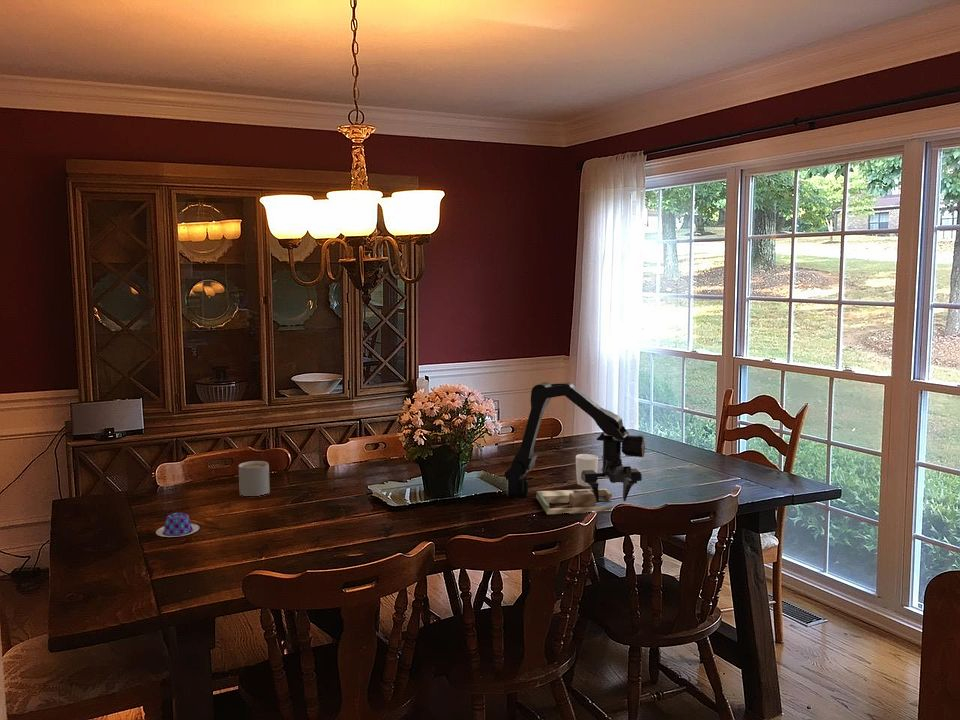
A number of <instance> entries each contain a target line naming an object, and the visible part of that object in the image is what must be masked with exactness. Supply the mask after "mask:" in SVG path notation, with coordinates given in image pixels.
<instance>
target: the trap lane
mask: <svg viewBox="0 0 960 720" xmlns="http://www.w3.org/2000/svg"><path fill="white" fill-rule="evenodd" d="M582 492H590V493H592V494H593V495H594V493H593V490H592V488H590V489H588V488H587V489H567V490H566V489H564V490H563V489H562V490H560V489H559V490H537V491H536V500H537V502H538V503H539V505H540V506H541V507H542V509H543V511H544V512H545V513H546V515H561V514H562V513H563V514H564V513H569V514H585V513H586V512H587V513H586V514H589V513H588V512H591V511H597V512H596V513H599V512H598V511H605V510H611V509H612V508H613V507H614V506H615V505H610V506H608V505H607V506H606V505H605V506H595V507H578V508H571V507H559V508H558V507H557V508H550V503H551V504H569V503H568V502H569V494H570V493H582ZM612 494H613V493H611V491H610V490H609V489H608V488H598V495H599V501H600V502H608V501H607V500H613V498H612V497H613V495H612ZM595 501H596V499H595ZM563 514H562V515H563ZM564 515H565V514H564Z"/></svg>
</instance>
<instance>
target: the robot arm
mask: <svg viewBox="0 0 960 720" xmlns="http://www.w3.org/2000/svg"><path fill="white" fill-rule="evenodd" d="M563 396H564V397H566V398H567V399H568V400H570V401H571V402H572V403H573V404H575V405H576V406H577V407H578V408H579V409H581V410H582V411H584V413H586V414H587V415H589V416H590V418H592V419H593V420H594V422H595V423H596V425H597V426H598V428H599V429H600V430H601V431H602V432H601V433H600V435H599V436H597V438H596V441H600V442H601V441H602V455H601V460H602V467H601V472H597V473H596V472H595V471H594V470H583V471H582V473H581V479H582V480H583V481H584V482H585V483H588V484H589V485H590V486H589V487H590V489H592V490H593V493H594V496H595V499H596V501H597V502H596V503H599V495H598V489H599V482H597V481H599V480H604V479H605V480H606V479H607V480H609V482H610V483H612V484H615V483H621V484H622V487H623V488H622V501H623V502H626V500H627V498H628V495H629V492H630V490H631V489H632V487H633V486H634V485H635V484H637V483H638V482H641V481H642V480H643V475H642V472H641V471H639V469H637V468H632V467H631V466H629V465H628V466H627V465H625V466H623V462H622V454H624V455H625V456H626V457H634V458H635V457H636V458H644V457H645V454H646V444H645V439H644V438H645V436H644V435H639V434H638V435H632V434H629V432H628V429H626V427H625V426H624V423H623V419H622V418H621V417H620V416H619V415H618V414H616V413H615V412H612V411H610V410H607V409H605V408H603V407H601V406H600V405H599V404H597V402H595V401H594V400H593V399H591V398H590V397H589V396H588V395H586V394H585V393H583V392H582V391H581V390H580V389H578V387H576V386H575V385H574V384H573V382H569V381H568V382H564V383H563V382H561V383H550V382H547V381H542V382H540V383H538V384H536V385H534V386H533V387H532V388H531V392H530V412H529V415H528V419H527V422H526V426H525V429H524V434H523V435H522V436H523V437H522V440H521V444H520V447H519V448H518V451H517V452H516V453H515V455H514V457H513V460H512V462H511V464H510V468H508V469H507V471H505V472H504V473H503V475H504V478H505V480H506V491H507V492H506V491H505V495H506V496H507V497H508V498H525V497H526V498H528V494H529V481H528V480H527V477H526V476H527V475H528V473H529V472H530V470H532V469H533V468H534V467H535V466H536V460H537V459H538V454H535V453H534V452H535V451H534V447H535V444H536V441H537V437H538V433H539V429H540V426H541V423H542V419H543V417H544V416H543V415H544V412H545V410H546V408H547V406H548V405H549V403H550V402H551V399H552V398H558V397H563ZM621 453H622V454H621Z"/></svg>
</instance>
